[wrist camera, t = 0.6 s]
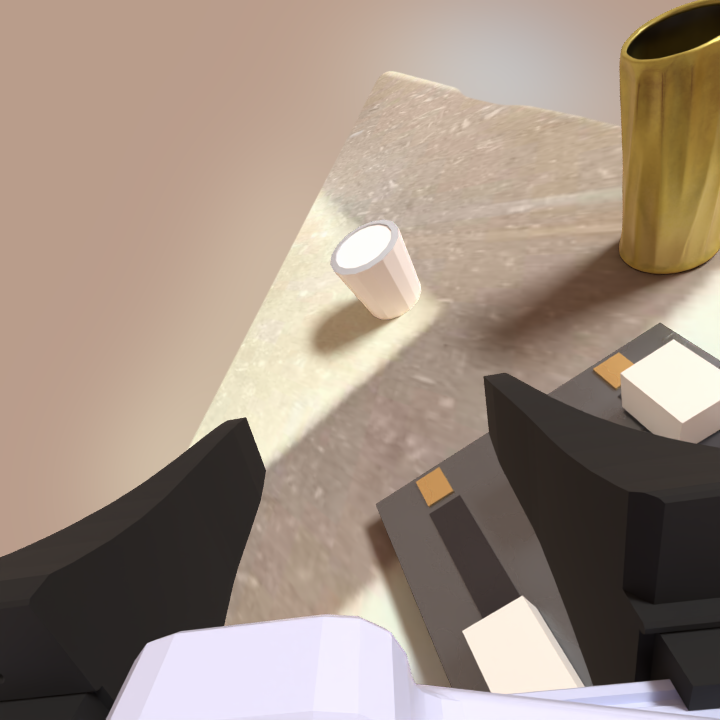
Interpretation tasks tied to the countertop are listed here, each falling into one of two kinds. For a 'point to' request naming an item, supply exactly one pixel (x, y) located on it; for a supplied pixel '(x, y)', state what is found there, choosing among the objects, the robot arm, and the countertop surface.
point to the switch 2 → (673, 393)
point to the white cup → (378, 269)
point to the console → (497, 527)
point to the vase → (671, 140)
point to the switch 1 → (519, 651)
